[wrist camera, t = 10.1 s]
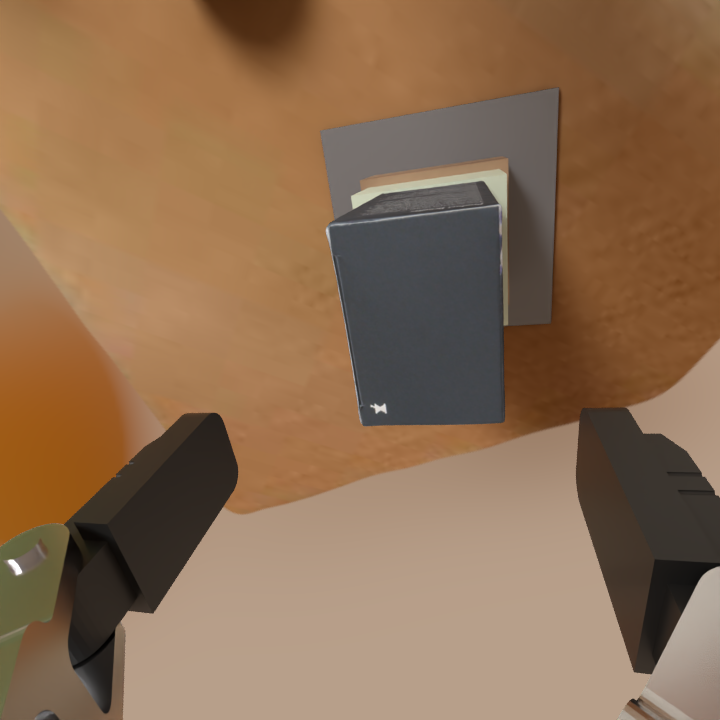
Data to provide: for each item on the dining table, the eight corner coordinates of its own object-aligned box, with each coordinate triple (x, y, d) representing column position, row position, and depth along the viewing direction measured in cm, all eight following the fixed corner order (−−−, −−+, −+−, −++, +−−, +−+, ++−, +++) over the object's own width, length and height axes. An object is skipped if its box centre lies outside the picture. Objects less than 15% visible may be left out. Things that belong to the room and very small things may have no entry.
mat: (321, 130, 32) (320, 130, 32) (557, 87, 28) (558, 87, 28) (354, 333, 39) (353, 335, 38) (550, 321, 35) (551, 323, 34)
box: (490, 323, 25) (506, 429, 16) (393, 329, 27) (355, 429, 17) (487, 176, 22) (505, 201, 13) (376, 192, 23) (319, 224, 14)
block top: (368, 187, 28) (350, 195, 24) (499, 168, 26) (506, 174, 22) (383, 306, 31) (371, 333, 27) (501, 298, 29) (508, 325, 25)
